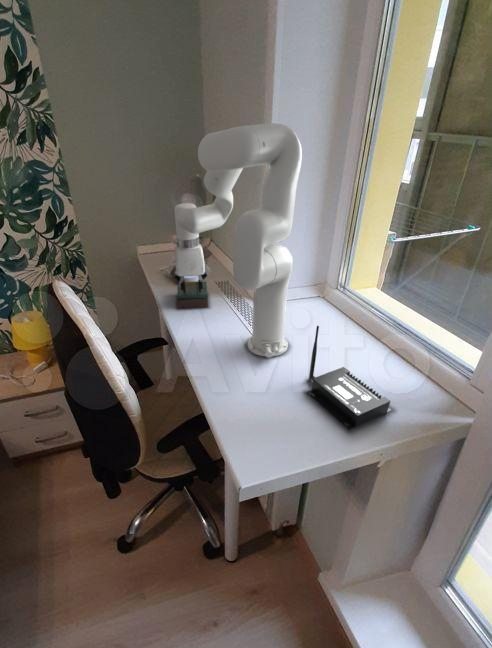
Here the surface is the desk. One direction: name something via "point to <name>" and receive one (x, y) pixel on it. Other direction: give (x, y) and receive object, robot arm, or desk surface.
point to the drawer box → (192, 303)
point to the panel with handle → (192, 291)
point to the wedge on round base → (191, 278)
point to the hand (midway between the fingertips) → (192, 290)
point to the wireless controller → (345, 395)
